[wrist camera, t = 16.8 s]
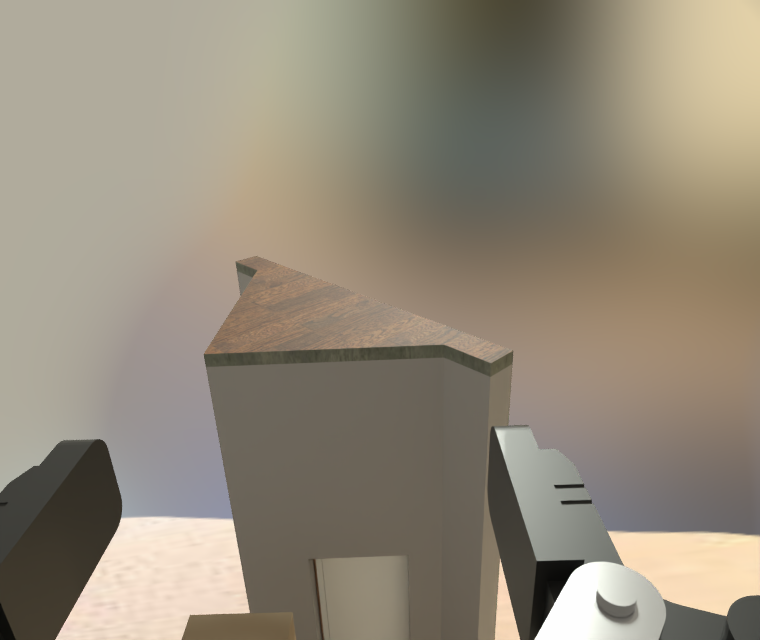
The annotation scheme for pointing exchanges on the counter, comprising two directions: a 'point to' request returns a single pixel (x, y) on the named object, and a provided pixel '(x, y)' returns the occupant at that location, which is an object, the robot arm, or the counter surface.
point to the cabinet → (358, 460)
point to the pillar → (241, 627)
